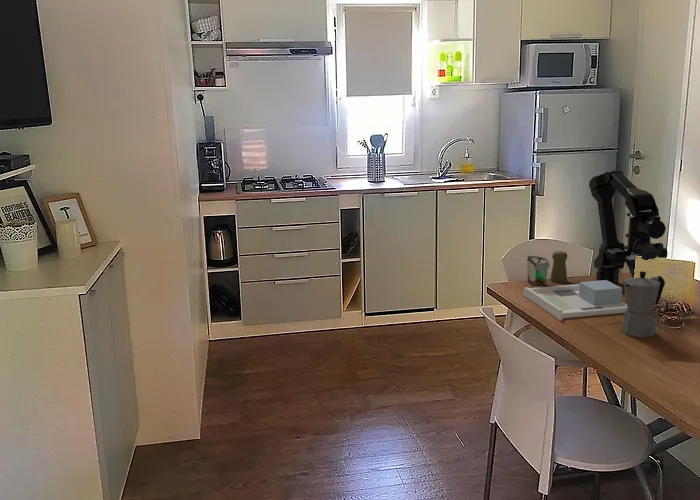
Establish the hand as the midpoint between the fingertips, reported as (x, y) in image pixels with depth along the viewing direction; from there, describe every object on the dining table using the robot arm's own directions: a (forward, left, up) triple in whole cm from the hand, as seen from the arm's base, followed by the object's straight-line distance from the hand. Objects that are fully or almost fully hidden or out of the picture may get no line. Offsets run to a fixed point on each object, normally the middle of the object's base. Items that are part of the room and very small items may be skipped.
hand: (634, 278), depth 209 cm
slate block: (+12, 0, -6) cm, 14 cm away
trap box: (+19, 0, -7) cm, 20 cm away
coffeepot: (+15, +27, -7) cm, 32 cm away
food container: (+23, -21, -7) cm, 32 cm away
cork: (+13, -26, -7) cm, 30 cm away
